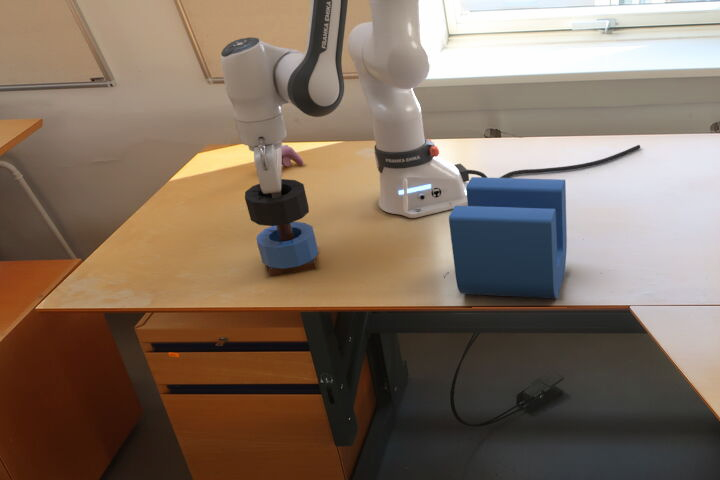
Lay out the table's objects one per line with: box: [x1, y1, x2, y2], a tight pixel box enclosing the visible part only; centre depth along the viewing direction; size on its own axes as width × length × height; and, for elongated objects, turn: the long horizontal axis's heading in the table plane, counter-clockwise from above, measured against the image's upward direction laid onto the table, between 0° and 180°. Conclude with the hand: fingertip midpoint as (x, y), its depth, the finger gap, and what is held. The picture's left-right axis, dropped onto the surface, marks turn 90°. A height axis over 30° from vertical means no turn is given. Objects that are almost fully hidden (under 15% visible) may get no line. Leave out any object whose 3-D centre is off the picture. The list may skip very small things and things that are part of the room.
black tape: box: [244, 178, 310, 227], centre depth 154 cm, size 11×11×5 cm
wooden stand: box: [268, 223, 317, 277], centre depth 158 cm, size 9×9×12 cm
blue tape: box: [256, 221, 319, 269], centre depth 160 cm, size 11×11×5 cm
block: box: [448, 176, 568, 299], centre depth 146 cm, size 18×18×18 cm
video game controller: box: [281, 144, 304, 168], centre depth 202 cm, size 10×5×7 cm, turn 144°
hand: (278, 196), depth 157 cm, fingers closed on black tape, 2 cm apart
